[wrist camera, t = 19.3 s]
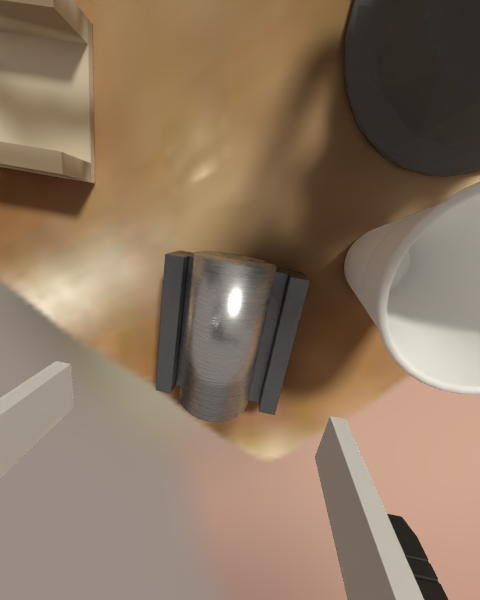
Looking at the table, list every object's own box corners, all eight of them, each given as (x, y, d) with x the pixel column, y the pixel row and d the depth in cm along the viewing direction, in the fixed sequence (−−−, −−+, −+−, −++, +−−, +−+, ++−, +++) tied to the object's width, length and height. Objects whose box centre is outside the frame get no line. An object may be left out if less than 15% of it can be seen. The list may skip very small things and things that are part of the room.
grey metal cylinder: (193, 367, 24) (167, 410, 18) (207, 249, 20) (180, 255, 14) (251, 381, 23) (243, 430, 17) (276, 261, 20) (276, 273, 14)
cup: (312, 310, 22) (356, 382, 12) (332, 198, 19) (414, 159, 9) (420, 321, 21) (572, 409, 11) (458, 207, 19) (713, 175, 8)
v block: (180, 250, 22) (165, 254, 18) (302, 272, 21) (310, 280, 18) (169, 369, 26) (155, 390, 22) (273, 390, 25) (274, 415, 22)
